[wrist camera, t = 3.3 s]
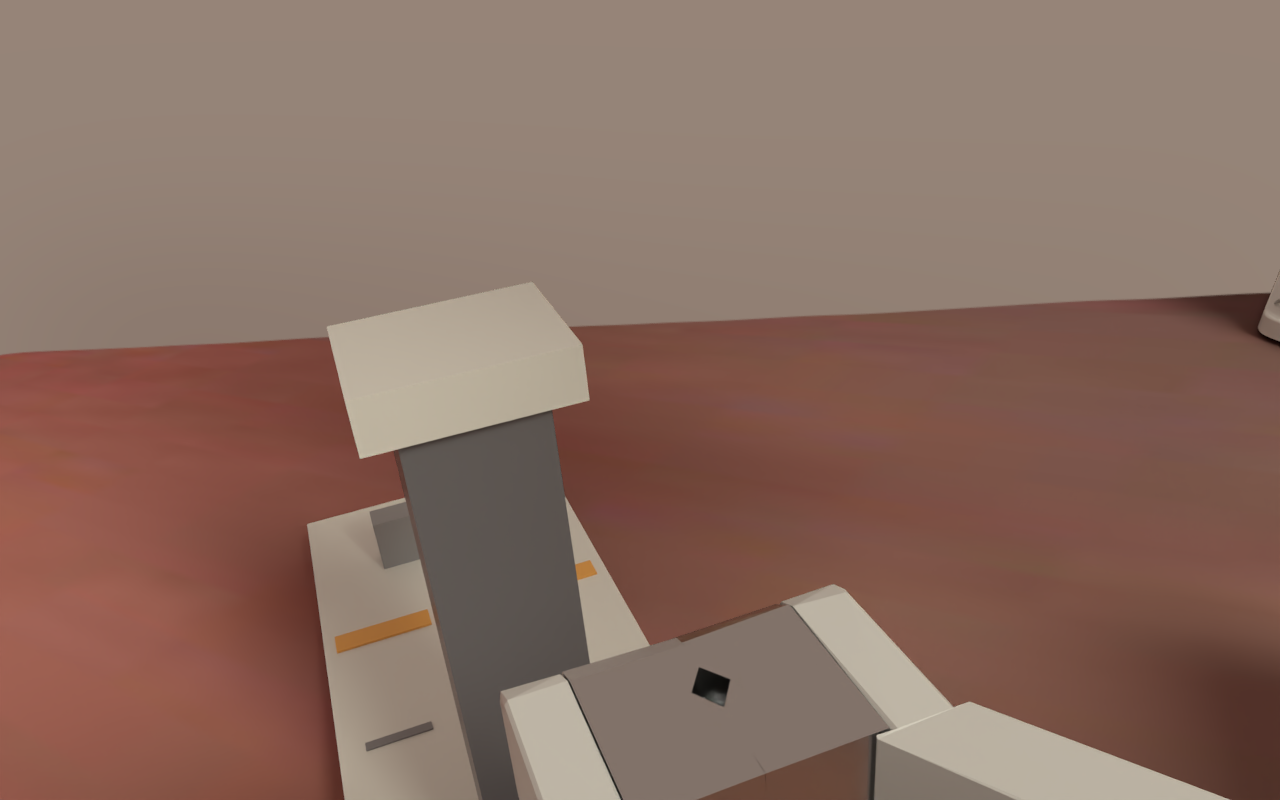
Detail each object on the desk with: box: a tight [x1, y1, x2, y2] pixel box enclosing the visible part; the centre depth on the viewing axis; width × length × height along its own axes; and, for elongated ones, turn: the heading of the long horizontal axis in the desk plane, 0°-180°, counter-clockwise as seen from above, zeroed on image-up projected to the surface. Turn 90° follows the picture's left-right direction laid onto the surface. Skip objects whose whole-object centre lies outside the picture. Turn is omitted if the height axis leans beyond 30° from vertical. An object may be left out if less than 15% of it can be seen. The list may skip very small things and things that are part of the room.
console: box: [307, 497, 650, 800], centre depth 31 cm, size 26×10×4 cm, turn 21°
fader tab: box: [327, 282, 590, 800], centre depth 23 cm, size 4×4×14 cm
